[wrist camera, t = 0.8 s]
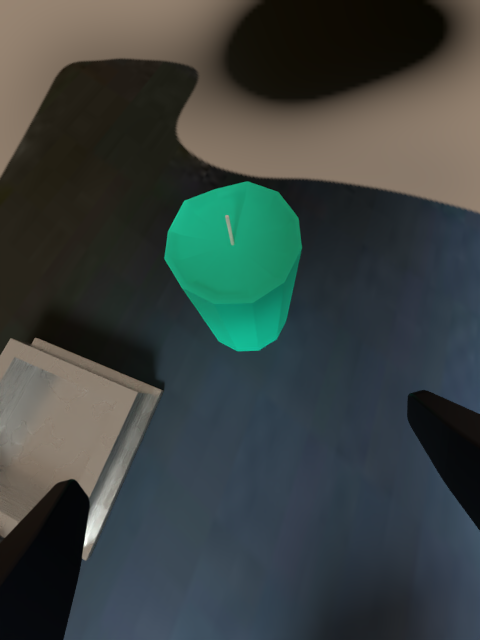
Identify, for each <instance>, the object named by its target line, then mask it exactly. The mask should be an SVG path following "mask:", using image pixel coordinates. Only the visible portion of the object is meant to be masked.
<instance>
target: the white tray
mask: <svg viewBox="0 0 480 640" xmlns="http://www.w3.org/2000/svg"><path fill="white" fill-rule="evenodd" d="M163 392H164V391H163V390H161V389H159V388H156V387H154V386H151V385H149V384H147V383H144V382H142V381H139V380H137V379H135V378H132V377H130V376H127V375H125V374H123V373H120V372H118V371H116V370H113V369H111V368H108V367H106V366H104V365H101V364H99V363H96V362H94V361H92V360H89V359H87V358H84V357H82V356H80V355H77V354H75V353H72V352H70V351H68V350H65V349H63V348H60V347H58V346H56V345H53V344H51V343H49V342H46V341H44V340H41V339H39V338H35V339H34V340H33V342H32V344H29V343H26V342H22V341H19V340H15V339H12V338H11V339H10V340H9V342H8V344H7V345H6V347H5V349H4V350H3V352H2V354H1V355H0V542H1V541H2V540H3V539H4V538H5V537H6V536H7V535H8V534H9V533H10V532H11V531H12V530H13V529H14V528H15V527H16V525H17V524H18V523H19V522H20V521H21V520H22V519H23V518H24V517H25V516H26V515H27V514H28V513H29V512H30V511H31V510H32V509H33V508H34V506H35V505H36V504H37V503H38V502H39V501H40V500H41V499H42V498H43V497H44V496H45V495H46V494H47V493H48V492H49V491H50V490H51V488H52V487H53V486H54V485H55V484H57V483H58V482H61V481H65V480H69V479H75V480H76V481H77V482H78V483H79V484H80V486H81V487H82V489H83V490H84V491H85V493H86V494H87V495H88V497H89V501H90V508H89V515H88V521H87V528H86V534H85V541H84V548H83V554H82V559H84V560H88V559H89V558H90V557H91V555H92V553H93V550H94V548H95V546H96V544H97V541H98V539H99V537H100V534H101V532H102V530H103V528H104V525H105V523H106V521H107V519H108V516H109V514H110V512H111V510H112V507H113V505H114V503H115V501H116V498H117V496H118V494H119V491H120V489H121V487H122V485H123V482H124V480H125V478H126V476H127V473H128V471H129V469H130V467H131V464H132V462H133V460H134V458H135V455H136V453H137V451H138V448H139V446H140V444H141V442H142V439H143V437H144V435H145V433H146V430H147V428H148V426H149V424H150V421H151V419H152V417H153V415H154V412H155V410H156V408H157V405H158V403H159V401H160V399H161V396H162V394H163Z"/></svg>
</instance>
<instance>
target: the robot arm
mask: <svg viewBox="0 0 480 640" xmlns="http://www.w3.org/2000/svg"><path fill="white" fill-rule="evenodd" d="M407 417H408V421H409V424H410V426H411V427H412V429H413V431H414V432H415V434H416V436H417V437H418V439H419V441H420V443H421V444H422V446H423V448H424V449H425V451H426V453H427V454H428V456H429V458H430V459H431V461H432V463H433V464H434V466H435V468H436V469H437V471H438V473H439V474H440V476H441V477H442V479H443V481H444V482H445V484H446V485H447V486H448V488H449V489H450V491H451V492H452V493H453V495H454V496H455V498H456V499H457V500H458V502H459V503H460V504H461V506H462V507H463V508H464V510H465V511H466V513H467V514H468V515H469V517H470V518H471V519H472V521H473V522H474V523H475V525H476V526H477V528H478V529H479V530H480V414H478V413H476V412H474V411H472V410H469V409H467V408H465V407H463V406H460V405H458V404H456V403H454V402H451V401H449V400H447V399H445V398H443V397H440V396H438V395H436V394H434V393H431V392H429V391H426V390H421V391H417V392H413V393H410V394H409V395H408V409H407ZM89 508H90V501H89V497H88V495H87V494H86V493H85V491H84V490H83V489H82V487H81V486H80V484H79V483H78V482H77V481H76V480H75V479H69V480H65V481H61V482H58V483H57V484H55V485H54V486H53V487H52V488H51V490H50V491H49V492H48V493H47V494H46V495H45V496H44V497H43V498H42V499H41V500H40V501H39V502H38V503H37V504H36V505H35V506H34V508H33V509H32V510H31V511H30V512H29V513H28V514H27V515H26V516H25V517H24V518H23V519H22V520H21V521H20V522H19V523H18V524H17V525H16V527H15V528H14V529H13V530H12V531H11V532H10V533H9V534H8V535H7V536H6V537H5V538H4V539H3V540H2V541H1V542H0V640H63V639H64V635H65V631H66V627H67V622H68V618H69V614H70V610H71V606H72V602H73V598H74V594H75V589H76V585H77V581H78V576H79V572H80V566H81V561H82V554H83V548H84V541H85V534H86V528H87V521H88V515H89Z"/></svg>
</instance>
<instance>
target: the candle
mask: <svg viewBox="0 0 480 640" xmlns="http://www.w3.org/2000/svg"><path fill="white" fill-rule="evenodd" d="M301 250H302V244H301V235H300V227H299V218H298V217H297V215H296V214H295V213H294V211H293V210H292V209H291V208H290V206H289V205H288V204H287V202H286V201H285V200H284V199H283V197H282V196H281V195H280V193H279V192H277V191H274V190H271V189H268V188H265V187H263V186H260V185H257V184H254V183H251V182H248V181H246V182H242V183H238V184H234V185H230V186H226V187H222V188H218V189H214V190H211V191H209V192H206V193H204V194H201V195H198V196H196V197H193V198H190V199H188V200H185V201H184V202H183V204H182V206H181V208H180V210H179V212H178V214H177V216H176V217H175V219H174V221H173V223H172V225H171V227H170V229H169V230H168V236H167V243H166V250H165V257H164V259H165V261H166V262H167V264H168V266H169V267H170V269H171V271H172V272H173V274H174V276H175V277H176V279H177V281H178V282H179V284H180V286H181V287H182V289H183V290H184V292H185V293H186V294H187V296H188V297H189V299H190V300H191V302H192V303H193V305H194V306H195V307H196V309H197V310H198V312H199V313H200V315H201V316H202V318H203V319H204V320H205V322H206V323H207V325H208V326H209V328H210V329H211V331H212V332H213V333H214V335H215V336H216V338H217V339H218V341H219V342H221V343H223V344H225V345H227V346H228V347H230V348H232V349H234V350H236V351H257V350H260V349H262V348H263V347H265V346H267V345H268V344H270V343H271V342H273V341H275V340H276V339H277V338H278V336H279V334H280V332H281V330H282V328H283V326H284V324H285V322H286V320H287V315H288V310H289V306H290V301H291V296H292V292H293V287H294V283H295V278H296V273H297V269H298V264H299V259H300V255H301Z"/></svg>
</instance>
